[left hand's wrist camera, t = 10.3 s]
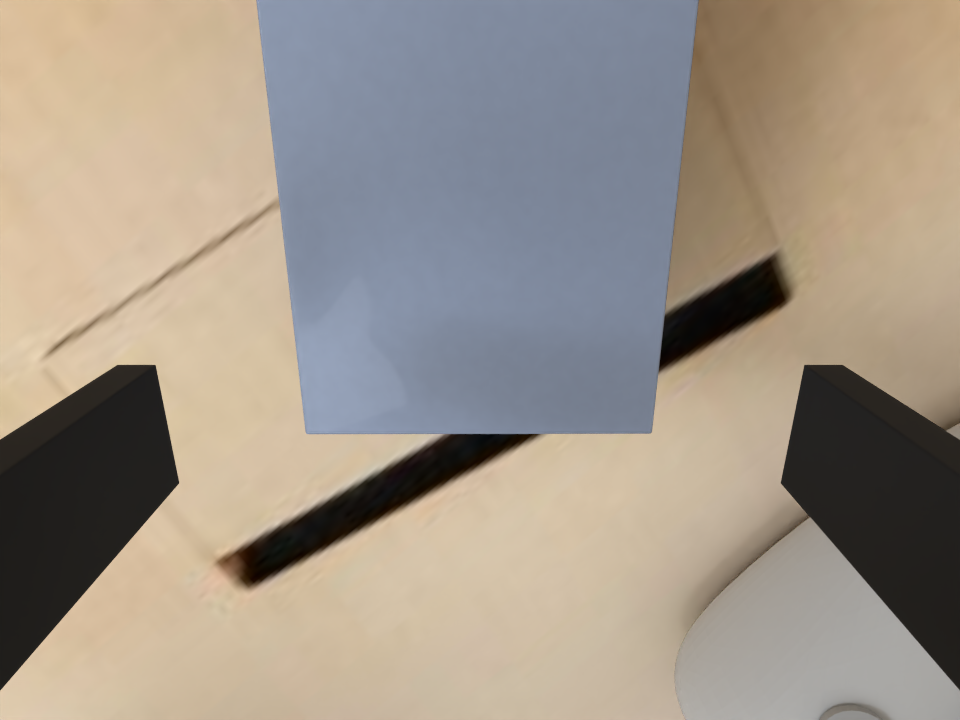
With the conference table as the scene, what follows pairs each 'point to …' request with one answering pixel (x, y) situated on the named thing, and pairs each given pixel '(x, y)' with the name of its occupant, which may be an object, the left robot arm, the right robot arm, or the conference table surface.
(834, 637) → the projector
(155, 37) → the conference table surface
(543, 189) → the cabinet
